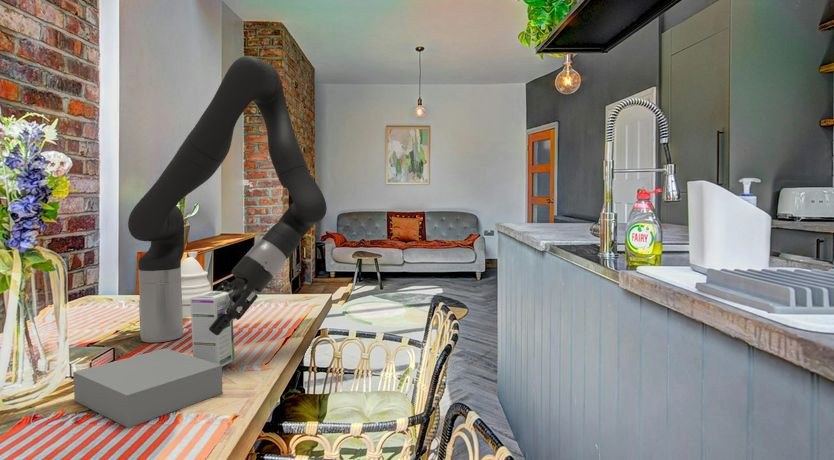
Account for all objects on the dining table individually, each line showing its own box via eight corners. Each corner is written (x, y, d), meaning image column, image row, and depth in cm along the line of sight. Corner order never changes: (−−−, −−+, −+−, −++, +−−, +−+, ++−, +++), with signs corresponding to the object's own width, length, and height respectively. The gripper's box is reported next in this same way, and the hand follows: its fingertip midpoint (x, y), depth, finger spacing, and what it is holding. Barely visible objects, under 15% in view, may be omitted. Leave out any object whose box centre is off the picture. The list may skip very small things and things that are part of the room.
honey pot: (181, 307, 157) (179, 250, 155) (221, 307, 156) (220, 250, 155) (158, 317, 144) (156, 255, 143) (202, 317, 143) (200, 255, 142)
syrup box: (218, 370, 97) (216, 297, 96) (192, 368, 98) (189, 295, 97) (235, 360, 103) (233, 291, 102) (209, 358, 104) (207, 290, 103)
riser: (74, 400, 84) (73, 371, 84) (166, 373, 98) (165, 348, 97) (128, 428, 74) (126, 395, 74) (222, 393, 88) (221, 365, 87)
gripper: (234, 251, 109) (180, 311, 103) (261, 257, 99) (203, 324, 92) (258, 272, 113) (207, 331, 107) (287, 281, 103) (232, 347, 96)
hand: (205, 328), depth 99 cm, fingers closed on syrup box, 7 cm apart
